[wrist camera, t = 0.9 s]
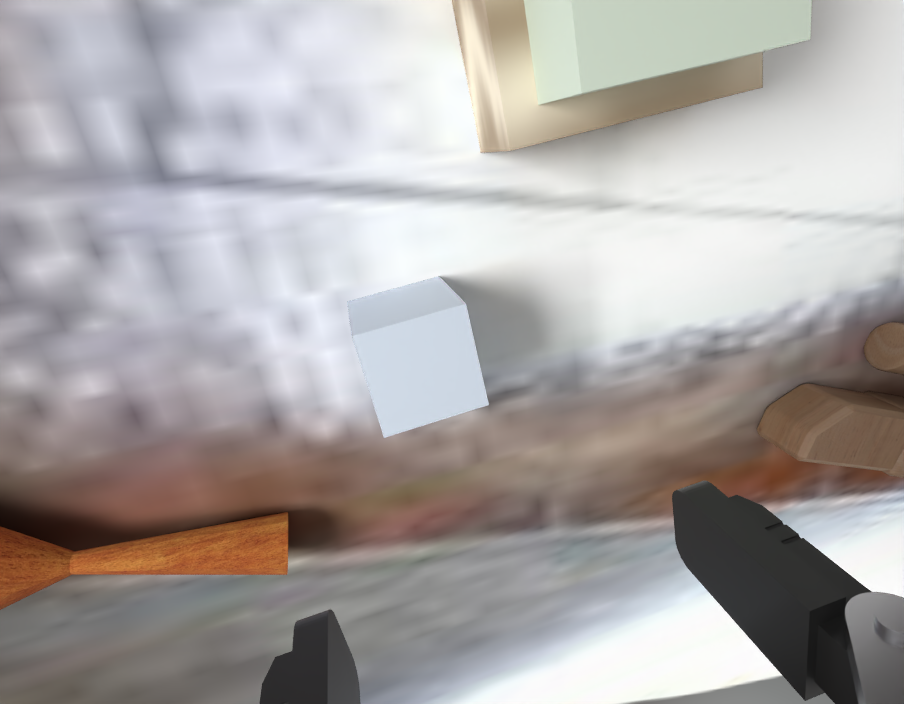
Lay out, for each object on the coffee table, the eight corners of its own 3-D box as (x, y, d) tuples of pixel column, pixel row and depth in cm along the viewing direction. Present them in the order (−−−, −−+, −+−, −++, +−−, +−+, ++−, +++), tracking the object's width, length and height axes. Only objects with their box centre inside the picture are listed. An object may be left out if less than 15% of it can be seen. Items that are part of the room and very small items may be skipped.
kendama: (286, 624, 29) (-208, 693, 22) (286, 537, 33) (-119, 574, 27) (289, 549, 26) (-276, 604, 19) (288, 466, 31) (-163, 488, 24)
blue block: (346, 301, 27) (351, 336, 22) (439, 275, 28) (466, 303, 22) (373, 385, 29) (384, 437, 24) (459, 360, 30) (488, 404, 24)
